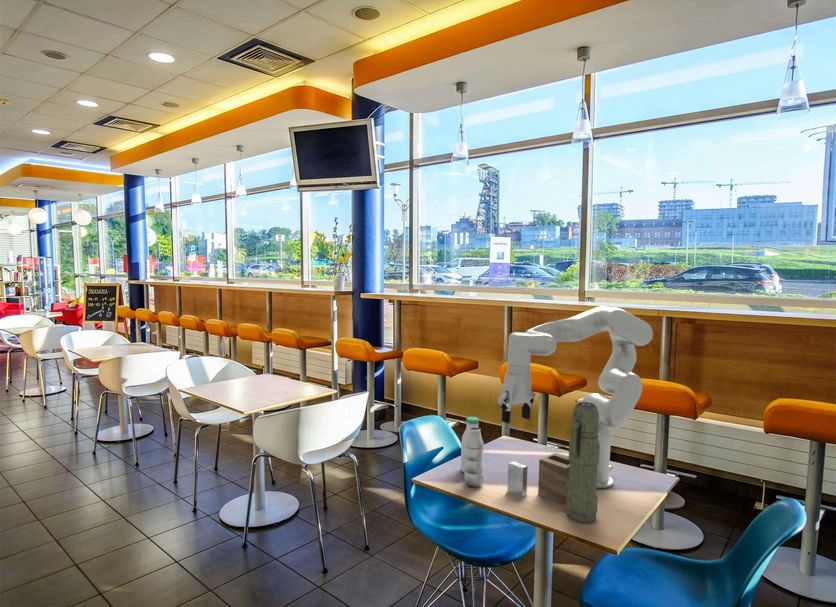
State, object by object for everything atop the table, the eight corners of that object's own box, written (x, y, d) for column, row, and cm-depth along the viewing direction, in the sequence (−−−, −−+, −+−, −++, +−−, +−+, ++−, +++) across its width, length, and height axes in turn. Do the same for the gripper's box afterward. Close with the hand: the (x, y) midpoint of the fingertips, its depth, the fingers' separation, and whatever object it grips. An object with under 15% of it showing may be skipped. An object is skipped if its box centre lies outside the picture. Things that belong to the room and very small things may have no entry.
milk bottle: (476, 476, 185) (478, 422, 184) (457, 472, 189) (458, 419, 187) (484, 469, 192) (486, 417, 190) (465, 465, 195) (467, 414, 194)
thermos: (558, 518, 154) (563, 404, 152) (576, 505, 163) (580, 398, 161) (586, 528, 148) (591, 410, 146) (603, 515, 157) (608, 403, 155)
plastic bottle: (482, 489, 174) (484, 432, 172) (462, 487, 175) (464, 430, 174) (483, 482, 180) (485, 426, 179) (464, 480, 181) (466, 425, 180)
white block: (511, 489, 174) (512, 461, 174) (526, 495, 170) (527, 466, 169) (507, 491, 173) (508, 462, 172) (522, 497, 168) (523, 468, 168)
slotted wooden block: (554, 486, 178) (555, 452, 177) (580, 495, 171) (582, 460, 170) (538, 494, 171) (539, 459, 170) (564, 504, 164) (566, 468, 163)
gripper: (527, 366, 178) (524, 414, 179) (492, 369, 168) (489, 421, 169) (544, 369, 172) (541, 419, 173) (508, 373, 162) (506, 427, 163)
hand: (515, 420), depth 171 cm, fingers open, 9 cm apart
